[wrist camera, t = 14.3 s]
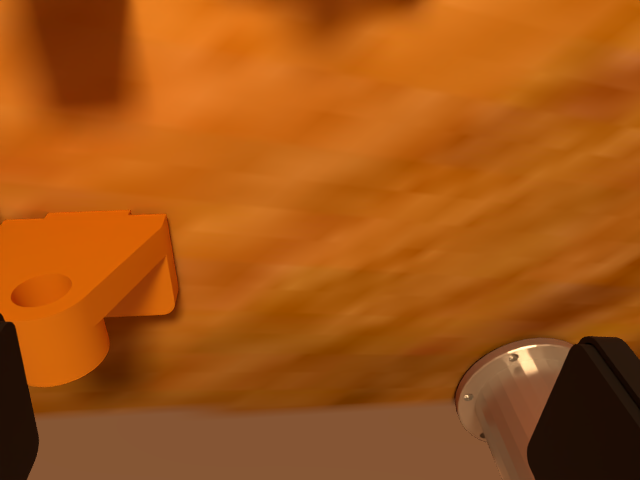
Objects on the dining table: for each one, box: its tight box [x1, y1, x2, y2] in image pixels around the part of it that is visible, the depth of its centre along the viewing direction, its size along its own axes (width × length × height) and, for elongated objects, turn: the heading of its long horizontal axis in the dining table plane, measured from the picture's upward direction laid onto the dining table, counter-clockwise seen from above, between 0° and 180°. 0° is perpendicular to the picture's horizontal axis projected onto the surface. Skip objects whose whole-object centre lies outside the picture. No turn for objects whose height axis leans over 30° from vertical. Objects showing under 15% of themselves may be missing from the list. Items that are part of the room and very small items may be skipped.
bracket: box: [0, 210, 179, 387], centre depth 35 cm, size 11×7×12 cm, turn 90°
